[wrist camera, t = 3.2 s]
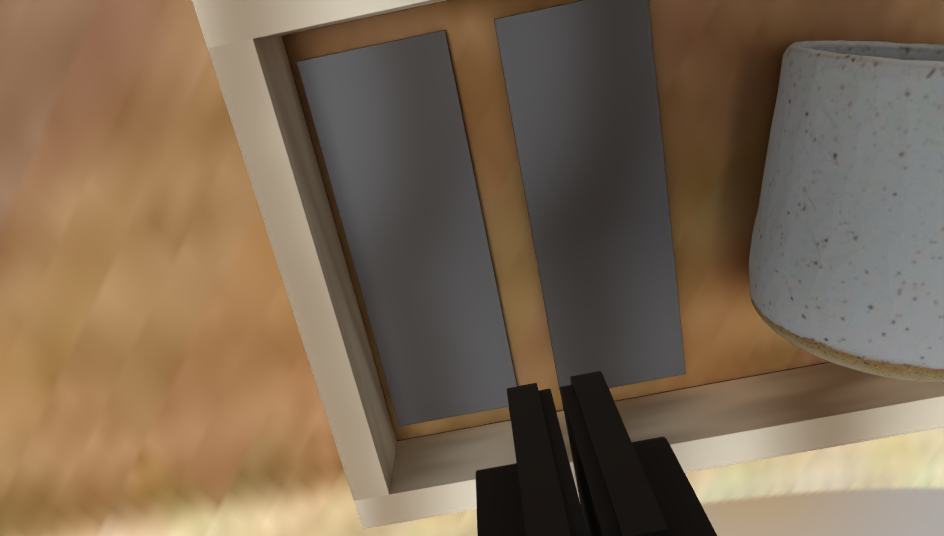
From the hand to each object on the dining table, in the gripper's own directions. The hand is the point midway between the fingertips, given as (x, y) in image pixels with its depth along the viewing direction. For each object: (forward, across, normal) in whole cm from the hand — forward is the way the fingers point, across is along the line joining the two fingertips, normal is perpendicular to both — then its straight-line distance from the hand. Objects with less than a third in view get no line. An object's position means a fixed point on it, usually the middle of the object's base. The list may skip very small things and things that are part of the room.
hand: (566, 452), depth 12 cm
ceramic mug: (+12, -12, -1) cm, 17 cm away
